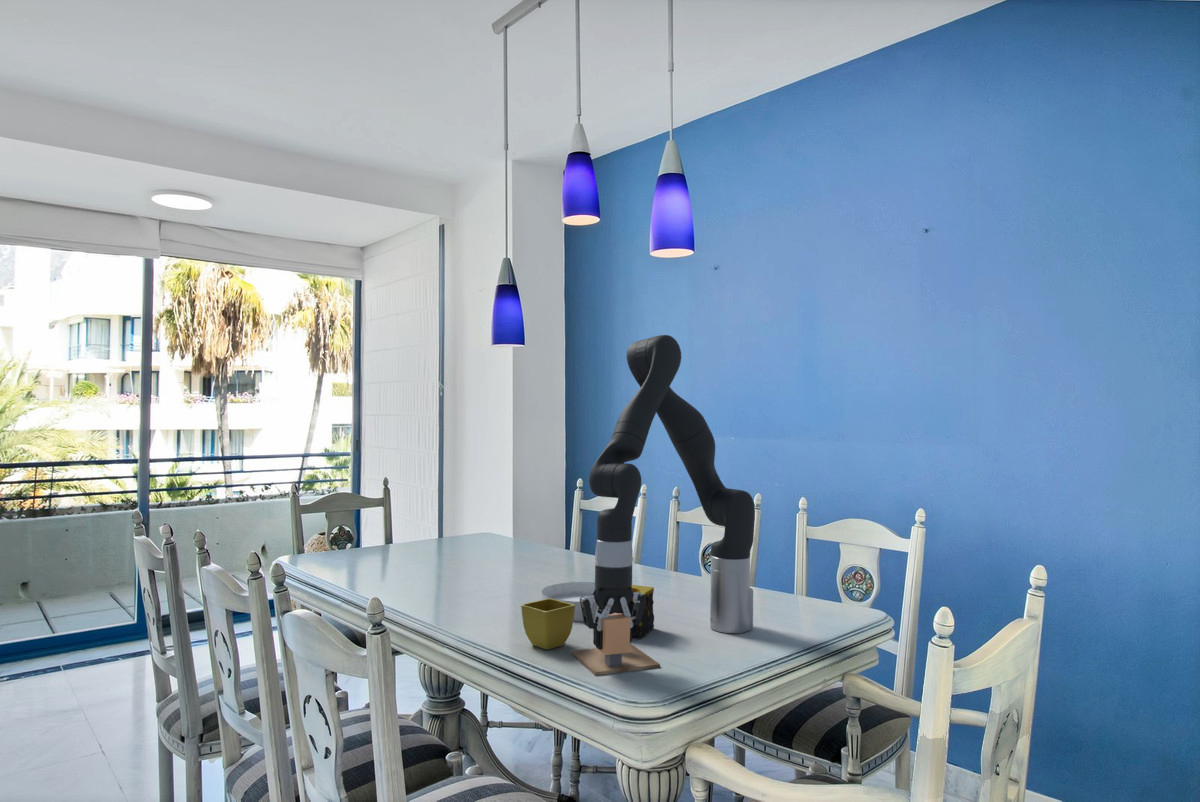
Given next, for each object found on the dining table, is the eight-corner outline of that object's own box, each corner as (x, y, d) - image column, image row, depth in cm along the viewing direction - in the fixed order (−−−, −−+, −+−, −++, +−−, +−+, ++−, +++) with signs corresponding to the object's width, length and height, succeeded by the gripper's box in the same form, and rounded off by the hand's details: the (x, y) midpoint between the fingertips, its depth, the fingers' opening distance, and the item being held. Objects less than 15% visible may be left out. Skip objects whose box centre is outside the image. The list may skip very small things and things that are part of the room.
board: (631, 646, 163) (631, 644, 163) (660, 667, 150) (660, 664, 150) (571, 653, 158) (571, 650, 158) (595, 675, 145) (595, 672, 145)
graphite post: (616, 661, 151) (616, 630, 151) (621, 665, 149) (621, 633, 149) (604, 663, 150) (605, 631, 150) (609, 667, 148) (609, 634, 148)
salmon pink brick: (619, 644, 153) (619, 611, 153) (629, 652, 148) (630, 617, 148) (595, 647, 151) (596, 613, 151) (605, 655, 146) (606, 620, 146)
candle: (615, 623, 181) (615, 582, 181) (654, 628, 177) (655, 586, 178) (599, 635, 172) (600, 591, 172) (641, 640, 168) (641, 595, 168)
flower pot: (519, 645, 163) (519, 604, 163) (549, 637, 169) (550, 597, 169) (545, 654, 157) (545, 611, 157) (575, 646, 163) (576, 604, 163)
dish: (617, 625, 181) (617, 604, 181) (529, 619, 185) (529, 598, 185) (631, 602, 202) (631, 584, 203) (553, 597, 207) (553, 579, 207)
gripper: (638, 556, 156) (637, 638, 155) (573, 560, 151) (572, 645, 150) (654, 563, 149) (652, 649, 149) (587, 567, 144) (585, 656, 143)
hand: (612, 646), depth 149 cm, fingers closed on salmon pink brick, 5 cm apart
